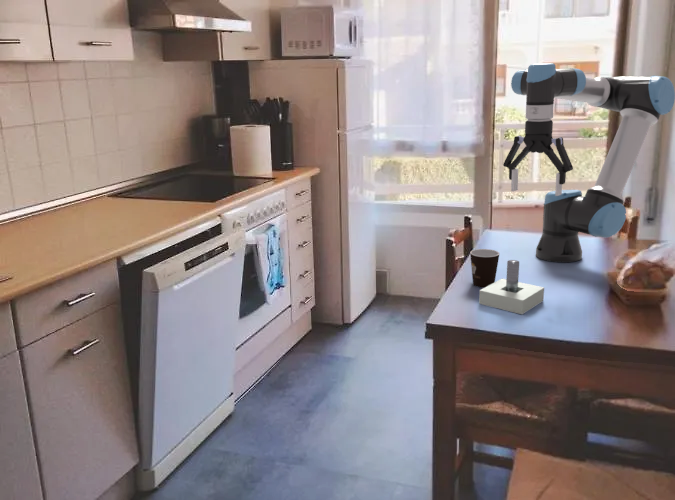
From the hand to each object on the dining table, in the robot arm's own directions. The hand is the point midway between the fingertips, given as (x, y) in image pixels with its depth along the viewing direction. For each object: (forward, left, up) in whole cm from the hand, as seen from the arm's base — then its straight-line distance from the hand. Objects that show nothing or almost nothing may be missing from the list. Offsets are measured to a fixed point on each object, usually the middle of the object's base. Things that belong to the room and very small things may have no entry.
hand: (535, 192), depth 186 cm
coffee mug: (+9, -11, -28) cm, 32 cm away
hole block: (+19, +3, -28) cm, 34 cm away
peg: (+19, +3, -28) cm, 34 cm away
